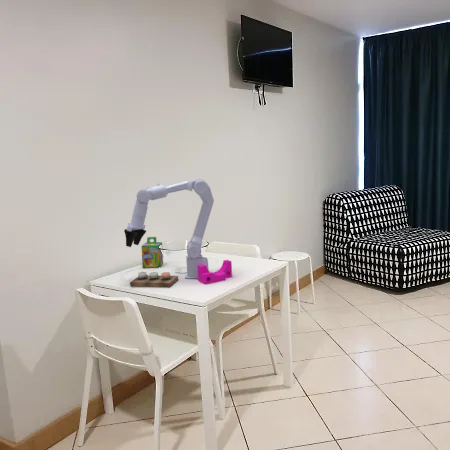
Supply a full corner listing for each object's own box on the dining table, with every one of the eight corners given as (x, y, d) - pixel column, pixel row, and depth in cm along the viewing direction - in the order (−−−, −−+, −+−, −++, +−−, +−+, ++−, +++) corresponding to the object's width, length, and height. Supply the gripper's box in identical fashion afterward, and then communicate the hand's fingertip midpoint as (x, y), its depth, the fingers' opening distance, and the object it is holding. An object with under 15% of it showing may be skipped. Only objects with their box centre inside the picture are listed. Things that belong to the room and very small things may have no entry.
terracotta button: (171, 275, 193) (171, 272, 193) (168, 278, 190) (168, 274, 189) (163, 275, 194) (163, 272, 194) (160, 278, 191) (160, 274, 190)
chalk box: (142, 268, 221) (140, 239, 219) (146, 264, 230) (143, 236, 228) (160, 267, 221) (158, 238, 218) (163, 263, 230) (161, 235, 228)
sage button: (159, 275, 194) (159, 272, 194) (156, 277, 191) (156, 274, 191) (151, 275, 195) (151, 272, 195) (148, 277, 192) (148, 274, 192)
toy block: (204, 285, 188) (203, 267, 187) (198, 281, 194) (197, 265, 193) (235, 278, 195) (234, 262, 194) (228, 275, 201) (227, 259, 200)
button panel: (178, 280, 197) (178, 275, 196) (169, 287, 186) (169, 282, 186) (140, 279, 201) (140, 274, 201) (130, 286, 190) (129, 281, 190)
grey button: (147, 275, 196) (147, 271, 195) (144, 277, 192) (144, 274, 192) (140, 275, 197) (140, 271, 196) (136, 277, 193) (136, 274, 193)
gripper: (137, 213, 203) (131, 241, 204) (123, 214, 188) (116, 244, 190) (151, 217, 201) (145, 245, 203) (138, 218, 187) (131, 249, 189)
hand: (132, 245), depth 196 cm, fingers open, 7 cm apart
